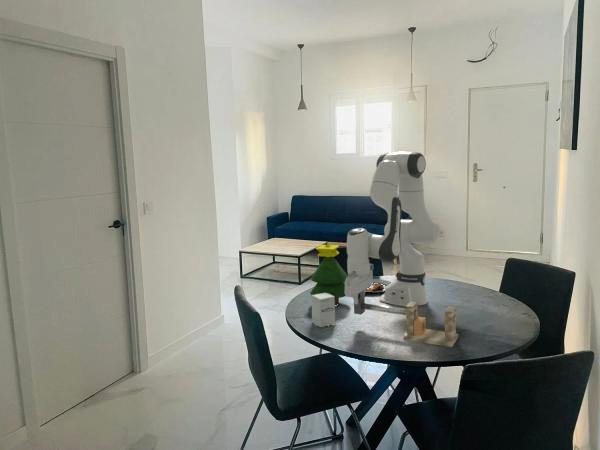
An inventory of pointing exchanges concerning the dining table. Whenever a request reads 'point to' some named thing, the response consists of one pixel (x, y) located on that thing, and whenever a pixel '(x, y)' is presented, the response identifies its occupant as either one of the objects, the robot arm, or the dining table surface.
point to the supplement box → (323, 309)
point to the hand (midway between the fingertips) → (359, 301)
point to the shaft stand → (430, 335)
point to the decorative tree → (329, 274)
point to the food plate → (378, 285)
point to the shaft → (374, 307)
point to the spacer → (419, 326)
